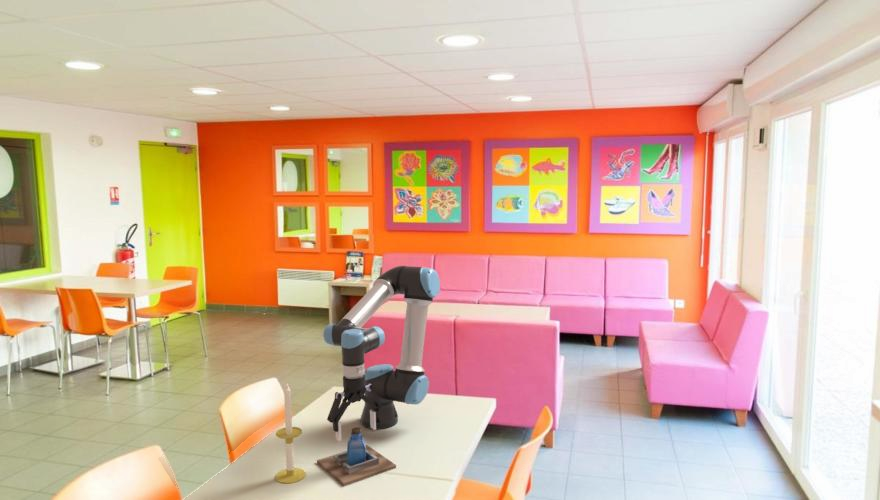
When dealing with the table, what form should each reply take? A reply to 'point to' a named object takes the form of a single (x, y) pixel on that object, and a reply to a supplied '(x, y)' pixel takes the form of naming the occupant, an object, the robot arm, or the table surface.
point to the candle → (289, 444)
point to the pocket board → (355, 466)
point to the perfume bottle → (356, 448)
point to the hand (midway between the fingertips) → (356, 434)
